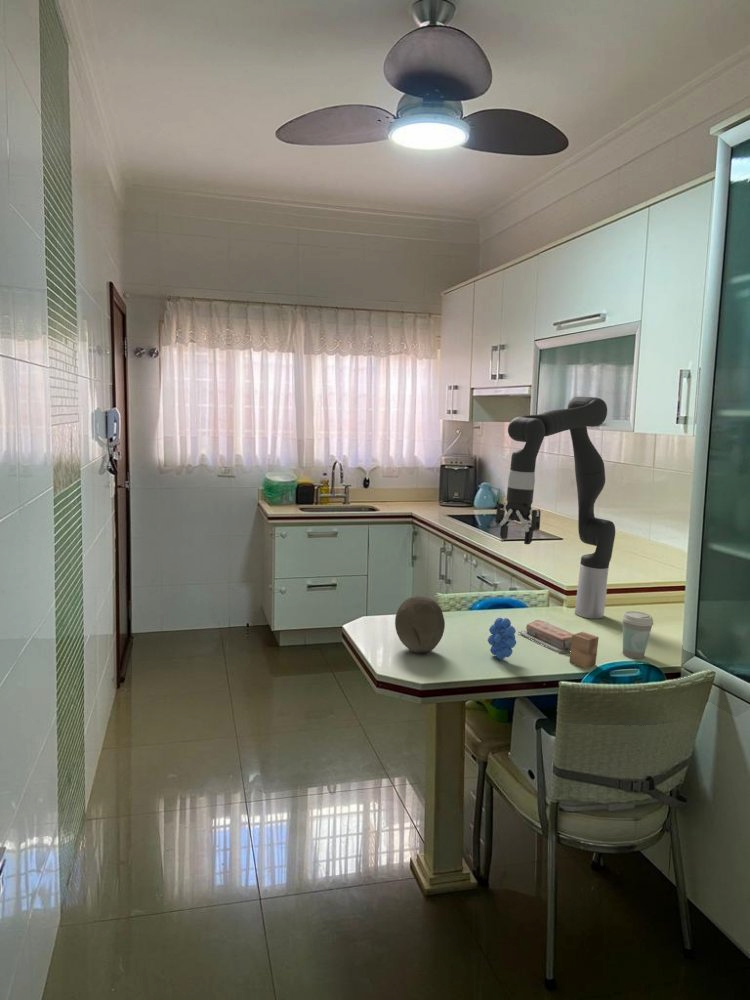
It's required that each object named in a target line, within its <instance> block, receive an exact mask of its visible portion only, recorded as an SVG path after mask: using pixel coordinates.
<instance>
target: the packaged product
mask: <svg viewBox="0 0 750 1000" xmlns="http://www.w3.org/2000/svg"><path fill="white" fill-rule="evenodd" d="M525 628H526V629H525V630H520V631H518V632H517V634H518V633H520V634H522V635H524V636H525V637H524V636H523V637H524V638H526V637H527V638H526V639H528V638H530V639H532V640H534V641H536V642H538V643H540V644H542V645H544V646H547V647H548V648H547V647H546V648H547V649H549V648H550V649H549V650H551V649H552V650H551V651H554V650H555V651H557V652H559V653H558V654H564V653H563V652H567V653H570V651H571V644H572V635H573V634H574V633H572V632H569V631H567V630H564V629H563V628H561V627H558V626H557V625H554V624H551V623H549V622H546V621H544V620H541V619H535V620H534V621H532V622H529V623H527V624H526V627H525ZM530 639H529V640H530ZM532 640H531V641H532ZM534 641H533V642H534ZM536 642H535V643H536ZM538 643H537V644H538ZM540 644H539V645H540ZM542 645H541V646H542ZM544 646H543V647H544ZM555 651H554V652H555ZM557 652H556V653H557Z"/></svg>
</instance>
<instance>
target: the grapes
mask: <svg viewBox="0 0 750 1000" xmlns="http://www.w3.org/2000/svg"><path fill="white" fill-rule="evenodd" d="M488 630H489V633H490V635H489V636H488V639H487V642H488V644H489V645H490V646H491V647H490V649H489V651H490V653H491V654H492V655H494V656H495V657H496V659H497V660H499V659H500V661H503V660H504V659H506V658H510V657H511V655H512V654H513V648H515V646H516V645H517V641H516V628H515V626H513V625H512V621H511V620H510V619H509V618H507V617H506V618H505V617H504V618H502V617H497V618H496V619H495V621H494V623H493V624H491V625H490V627H489V629H488Z"/></svg>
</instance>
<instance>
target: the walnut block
mask: <svg viewBox="0 0 750 1000" xmlns="http://www.w3.org/2000/svg"><path fill="white" fill-rule="evenodd" d="M572 634H573V635H572V644H571V652H569V653H570V654H569V661H568V663H569V662H570V663H569V664H571V663H572V664H571V665H574V664H575V666H577V667H580V668H583V669H588V668H591V667H594V666H596V663H597V655H598V646H599V636H596V635H595V634H591V633H587V632H584V631H582V632H577V633H572Z"/></svg>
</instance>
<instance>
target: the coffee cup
mask: <svg viewBox="0 0 750 1000" xmlns="http://www.w3.org/2000/svg"><path fill="white" fill-rule="evenodd" d="M621 620H622V654H623V656H625V657H628V658H631V659H638V660H639V659H644V658H645V654H646V650H647V646H648V643H649V639H650V635H651V631H652V626H654V619H653V616H652V615H651V614H648V613H646V612H641V611H634V610H628V611H625V612H624V614H623V616H622V618H621Z"/></svg>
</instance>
